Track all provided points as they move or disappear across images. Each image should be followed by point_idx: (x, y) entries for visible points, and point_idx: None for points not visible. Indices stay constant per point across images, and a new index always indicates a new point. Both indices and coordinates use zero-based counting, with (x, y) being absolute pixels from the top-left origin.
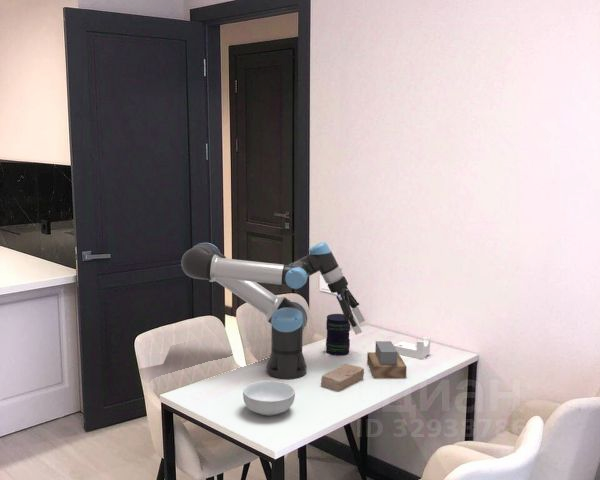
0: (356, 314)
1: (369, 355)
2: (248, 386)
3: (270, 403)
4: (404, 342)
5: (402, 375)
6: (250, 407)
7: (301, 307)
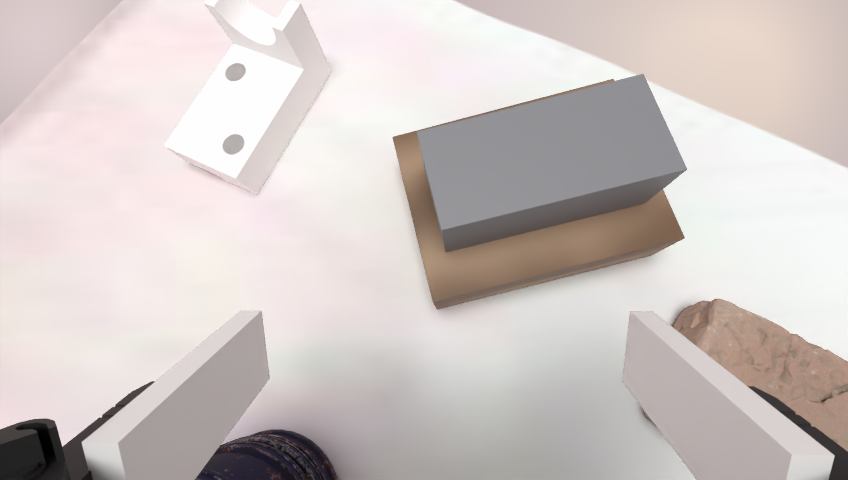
0: (207, 434)
1: (488, 284)
2: None
3: None
4: (180, 129)
5: None
6: None
7: None
